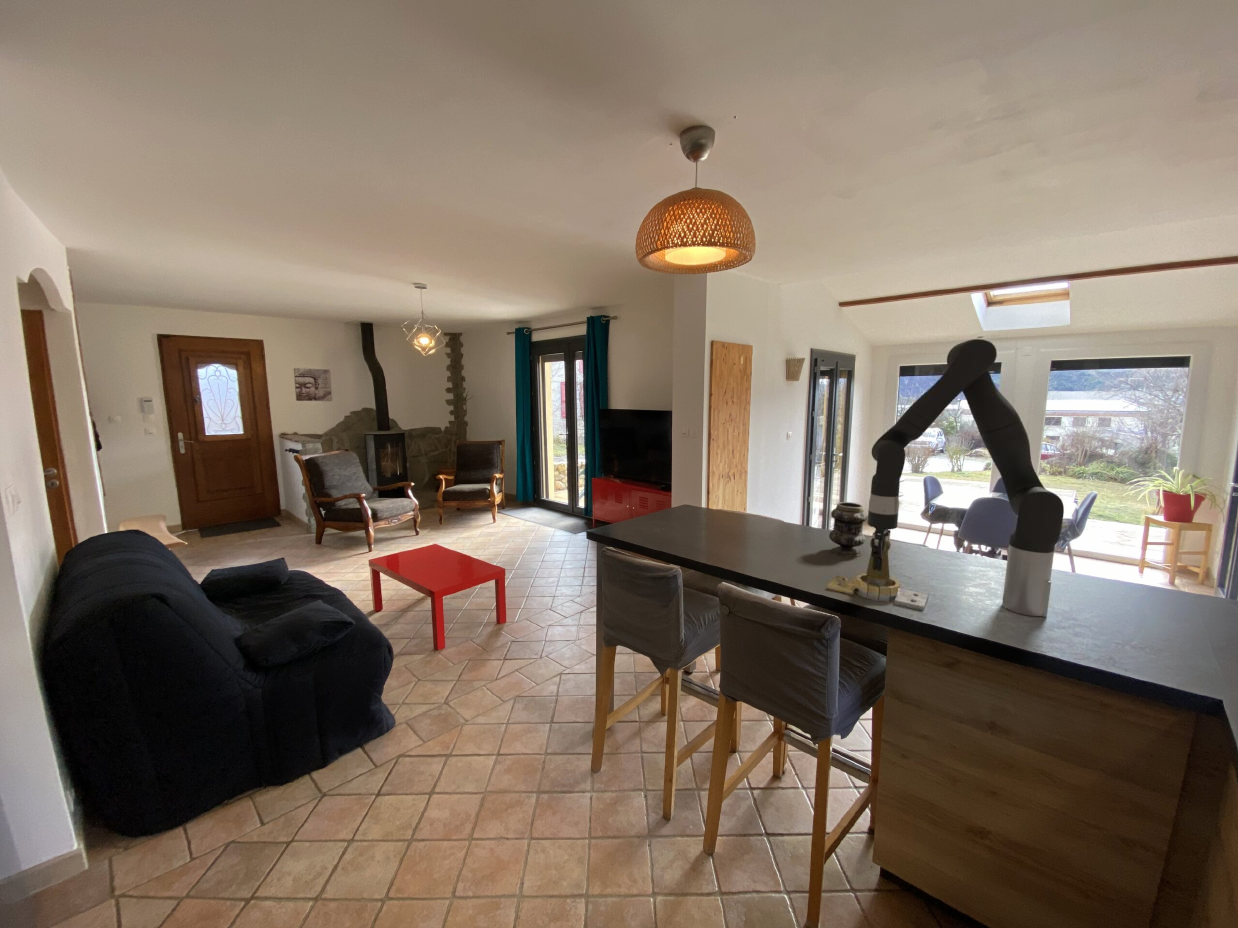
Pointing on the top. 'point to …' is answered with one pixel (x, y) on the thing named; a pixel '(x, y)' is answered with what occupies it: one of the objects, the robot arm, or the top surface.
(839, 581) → the brass hinge leaf
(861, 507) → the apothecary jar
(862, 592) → the steel hinge leaf
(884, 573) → the cork
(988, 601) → the top surface
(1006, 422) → the robot arm
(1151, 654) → the top surface
